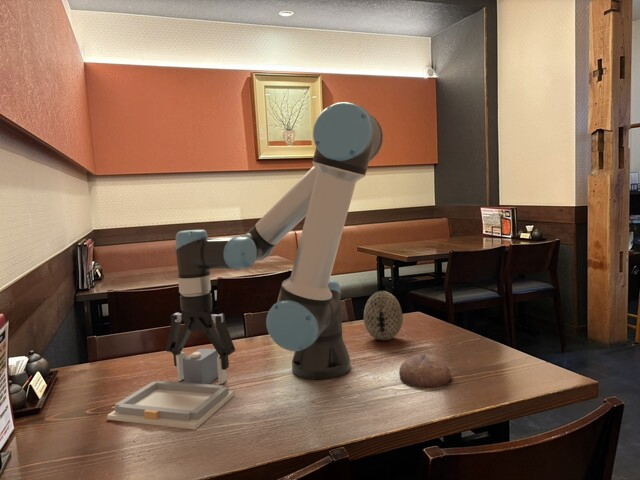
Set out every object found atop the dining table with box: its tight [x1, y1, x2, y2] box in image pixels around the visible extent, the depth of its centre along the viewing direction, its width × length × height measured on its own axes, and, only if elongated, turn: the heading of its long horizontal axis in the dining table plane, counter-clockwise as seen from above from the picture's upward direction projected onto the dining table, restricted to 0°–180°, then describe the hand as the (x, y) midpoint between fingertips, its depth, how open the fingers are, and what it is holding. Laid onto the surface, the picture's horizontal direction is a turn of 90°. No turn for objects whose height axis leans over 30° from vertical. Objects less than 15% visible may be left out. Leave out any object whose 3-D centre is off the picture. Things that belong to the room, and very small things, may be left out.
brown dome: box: [398, 353, 451, 389], centre depth 107 cm, size 12×12×6 cm
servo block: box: [182, 348, 219, 384], centre depth 112 cm, size 5×8×8 cm, turn 163°
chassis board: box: [106, 380, 235, 431], centre depth 99 cm, size 21×16×2 cm
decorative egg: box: [363, 290, 404, 341], centre depth 137 cm, size 12×12×15 cm
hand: (202, 380), depth 113 cm, fingers open, 11 cm apart
